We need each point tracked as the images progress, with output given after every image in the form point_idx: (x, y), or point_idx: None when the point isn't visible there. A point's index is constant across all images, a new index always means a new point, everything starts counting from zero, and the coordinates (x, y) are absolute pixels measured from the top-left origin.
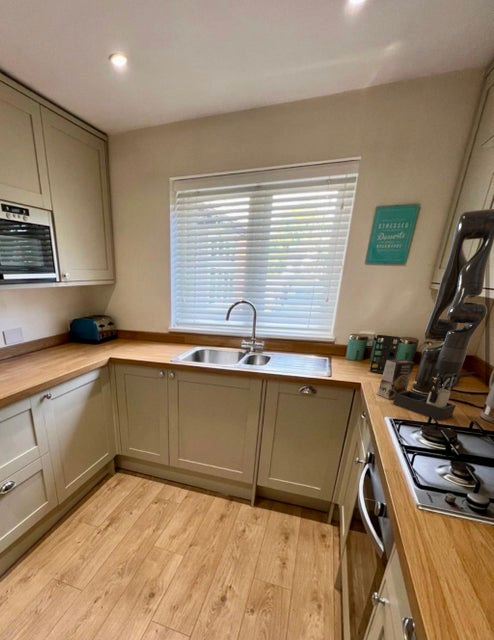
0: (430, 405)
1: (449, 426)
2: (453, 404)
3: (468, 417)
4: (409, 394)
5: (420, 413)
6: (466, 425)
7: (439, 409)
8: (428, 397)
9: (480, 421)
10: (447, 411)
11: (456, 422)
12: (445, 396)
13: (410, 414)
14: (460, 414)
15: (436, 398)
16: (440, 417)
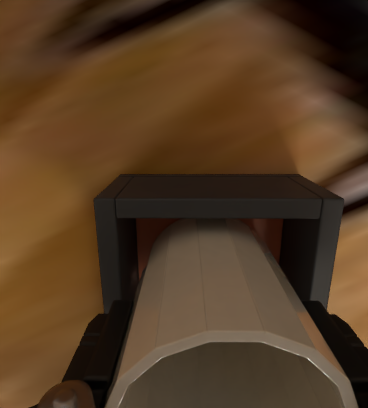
0: (326, 298)
1: (356, 79)
2: (96, 219)
3: (19, 103)
4: None
5: None
6: (211, 24)
7: (333, 220)
8: (271, 388)
9: (7, 12)
10: (224, 187)
11: (219, 95)
12: (285, 308)
13: (356, 308)
14: (20, 162)
15: (341, 334)
16: (303, 178)
